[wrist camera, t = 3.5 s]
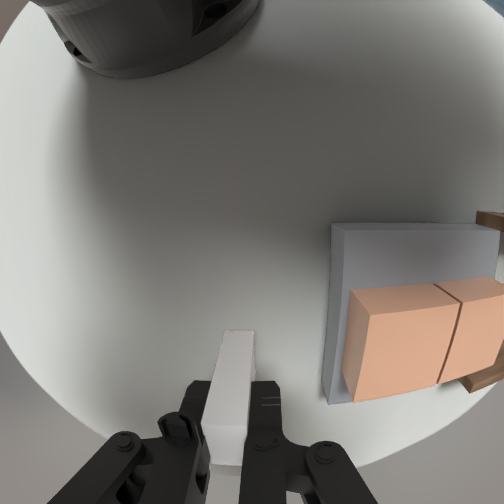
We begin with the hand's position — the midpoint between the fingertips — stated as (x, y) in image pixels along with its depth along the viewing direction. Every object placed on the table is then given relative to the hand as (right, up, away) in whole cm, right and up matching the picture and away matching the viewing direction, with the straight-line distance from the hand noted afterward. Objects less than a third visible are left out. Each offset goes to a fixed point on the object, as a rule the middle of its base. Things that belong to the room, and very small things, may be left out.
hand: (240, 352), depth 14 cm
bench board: (+12, +2, +4) cm, 13 cm away
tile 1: (+9, +1, +1) cm, 9 cm away
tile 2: (+15, +1, +1) cm, 15 cm away
